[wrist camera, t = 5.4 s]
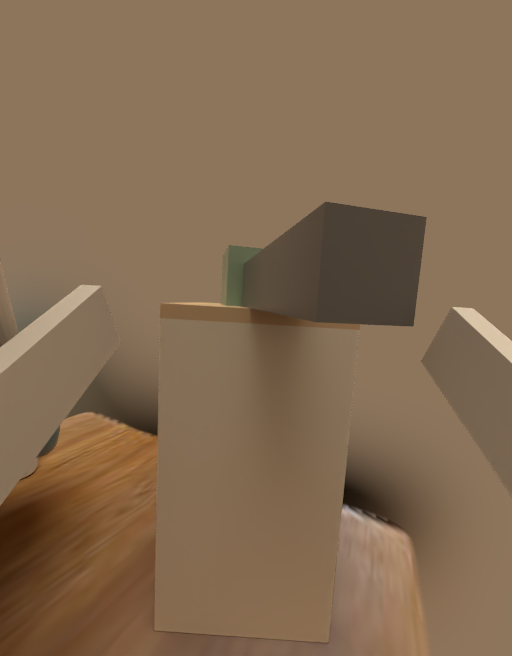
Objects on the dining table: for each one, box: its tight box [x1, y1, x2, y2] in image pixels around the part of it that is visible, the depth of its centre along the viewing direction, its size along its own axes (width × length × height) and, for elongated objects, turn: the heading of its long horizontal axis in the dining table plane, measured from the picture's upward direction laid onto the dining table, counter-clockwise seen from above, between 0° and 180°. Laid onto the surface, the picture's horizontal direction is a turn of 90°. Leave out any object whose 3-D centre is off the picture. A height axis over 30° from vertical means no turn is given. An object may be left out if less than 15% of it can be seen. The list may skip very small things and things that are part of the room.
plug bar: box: [221, 202, 426, 326], centre depth 20 cm, size 22×7×6 cm, turn 12°
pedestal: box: [154, 302, 360, 643], centre depth 29 cm, size 14×16×30 cm
